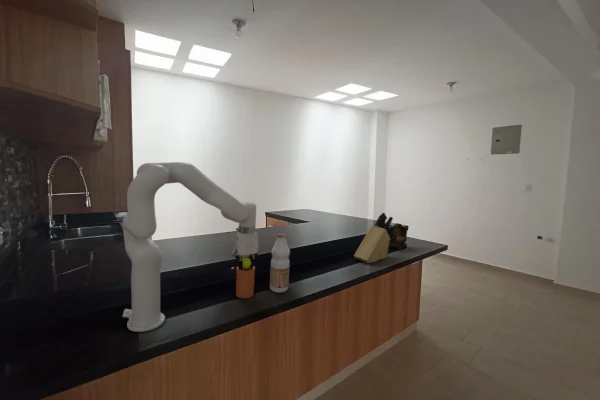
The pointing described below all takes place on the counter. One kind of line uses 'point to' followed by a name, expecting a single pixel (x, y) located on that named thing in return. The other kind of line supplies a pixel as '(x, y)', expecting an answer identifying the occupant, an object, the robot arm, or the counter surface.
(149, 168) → the robot arm
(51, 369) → the counter surface
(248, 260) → the ball
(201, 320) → the counter surface
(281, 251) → the fruit juice
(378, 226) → the knife block
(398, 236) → the pottery vessel
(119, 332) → the counter surface
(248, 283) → the tube
